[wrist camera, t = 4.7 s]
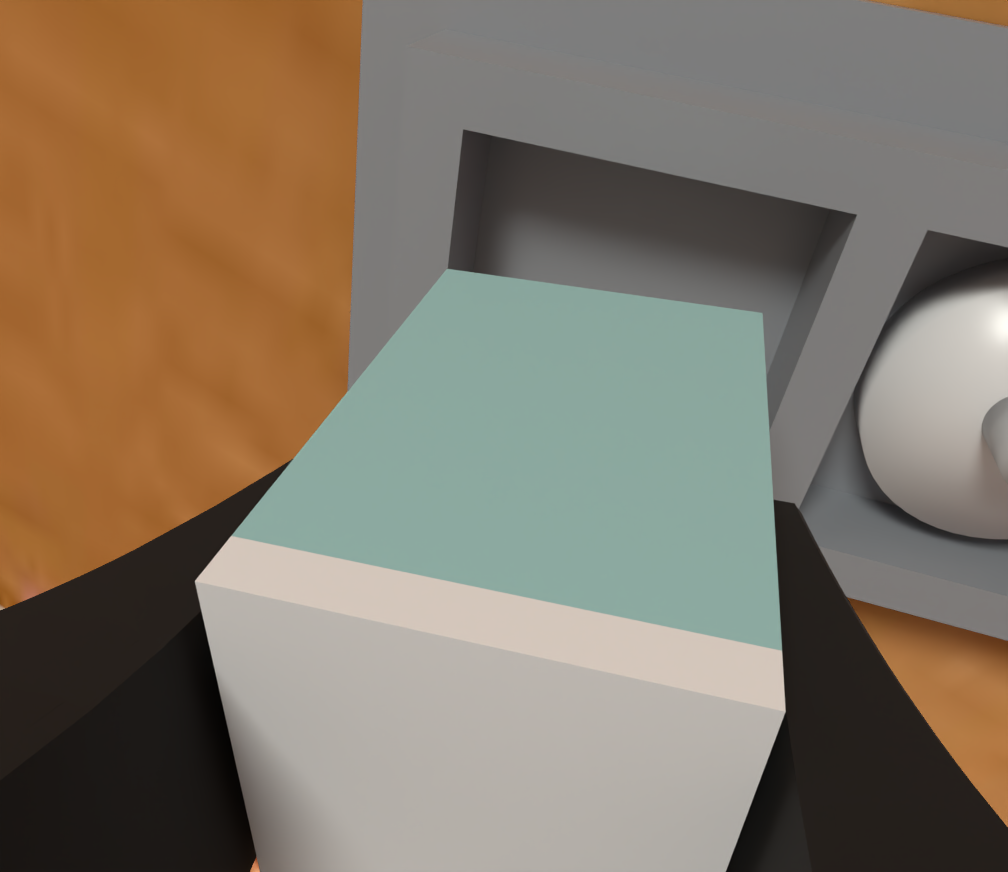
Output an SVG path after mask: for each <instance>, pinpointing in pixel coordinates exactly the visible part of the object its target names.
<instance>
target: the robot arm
mask: <svg viewBox="0 0 1008 872" xmlns="http://www.w3.org/2000/svg"><path fill="white" fill-rule="evenodd" d="M292 460H293V459H292ZM292 460H290V461H289V462H287V463H286V464H284V465H282V466H281V467H279V468H278V469H276V470H274V471H273V472H271V473H269V474H268V475H266V476H264V477H263V478H261V479H259V480H258V481H256V482H254V483H253V484H251V485H249V486H248V487H246V488H244V489H243V490H241V491H239V492H238V493H236V494H234V495H233V496H231V497H229V498H228V499H226V500H224V501H223V502H221V503H219V504H218V505H216V506H214V507H212V508H211V509H209V510H207V511H205V512H203V513H201V514H200V515H198V516H196V517H194V518H192V519H190V520H189V521H187V522H185V523H183V524H181V525H179V526H178V527H176V528H174V529H172V530H170V531H168V532H167V533H165V534H163V535H161V536H159V537H157V538H155V539H154V540H152V541H150V542H148V543H146V544H144V545H143V546H141V547H139V548H137V549H135V550H133V551H131V552H129V553H127V554H125V555H123V556H121V557H119V558H117V559H115V560H113V561H111V562H109V563H107V564H105V565H103V566H101V567H99V568H97V569H95V570H92V571H90V572H88V573H86V574H84V575H82V576H80V577H77V578H75V579H73V580H71V581H68V582H66V583H64V584H62V585H59V586H57V587H55V588H53V589H50V590H48V591H46V592H44V593H41V594H39V595H37V596H35V597H32V598H30V599H27V600H25V601H23V602H20V603H18V604H16V605H13V606H11V607H8V608H6V609H3V610H0V872H250V870H251V868H252V865H253V863H254V861H255V858H256V851H255V847H254V842H253V838H252V833H251V829H250V824H249V820H248V816H247V811H246V807H245V802H244V798H243V793H242V789H241V784H240V780H239V776H238V771H237V767H236V762H235V758H234V753H233V749H232V744H231V740H230V735H229V731H228V727H227V722H226V718H225V713H224V709H223V704H222V700H221V695H220V691H219V687H218V682H217V678H216V673H215V669H214V664H213V660H212V655H211V651H210V647H209V642H208V638H207V633H206V629H205V624H204V620H203V615H202V611H201V607H200V602H199V598H198V593H197V589H196V584H195V580H196V579H197V578H198V577H199V575H200V574H201V573H202V572H203V570H204V569H205V568H206V567H207V565H208V564H209V563H210V562H211V561H212V559H213V558H214V557H215V556H216V554H217V553H218V552H219V551H220V549H221V548H222V547H223V546H224V544H225V543H226V542H227V541H228V539H229V538H230V537H231V536H232V534H233V533H234V532H235V531H236V530H237V528H238V527H239V526H240V525H241V523H242V522H243V521H244V520H245V518H246V517H247V516H248V515H249V513H250V512H251V511H252V510H253V508H254V507H255V506H256V505H257V504H258V502H259V501H260V500H261V499H262V497H263V496H264V495H265V494H266V492H267V491H268V490H269V489H270V487H271V486H272V485H273V484H274V482H275V481H276V480H277V479H278V477H279V476H280V475H281V474H282V473H283V471H284V470H285V469H286V468H287V466H288V465H289V464H290V463H291V461H292ZM773 503H774V520H775V537H776V554H777V572H778V589H779V606H780V623H781V641H782V658H783V675H784V692H785V710H786V712H785V715H784V717H783V720H782V723H781V725H780V728H779V731H778V733H777V736H776V739H775V741H774V744H773V747H772V749H771V752H770V755H769V757H768V760H767V763H766V765H765V768H764V771H763V773H762V776H761V779H760V781H759V784H758V787H757V789H756V792H755V795H754V798H753V800H752V803H751V806H750V808H749V811H748V814H747V816H746V819H745V822H744V824H743V827H742V830H741V832H740V835H739V838H738V840H737V843H736V846H735V848H734V851H733V854H732V856H731V859H730V862H729V864H728V867H727V870H726V872H1008V827H1007V826H1006V825H1005V824H1004V822H1003V821H1002V820H1001V819H1000V817H999V816H998V815H997V814H996V812H995V811H994V810H993V809H992V808H991V806H990V805H989V804H988V803H987V801H986V800H985V799H984V798H983V796H982V795H981V794H980V793H979V791H978V790H977V789H976V788H975V787H974V785H973V784H972V783H971V781H970V780H969V779H968V778H967V776H966V775H965V774H964V772H963V771H962V770H961V768H960V767H959V766H958V764H957V763H956V762H955V760H954V759H953V758H952V756H951V755H950V754H949V752H948V751H947V750H946V748H945V747H944V745H943V744H942V743H941V741H940V740H939V739H938V737H937V736H936V735H935V733H934V732H933V730H932V729H931V727H930V726H929V725H928V723H927V722H926V720H925V719H924V717H923V716H922V715H921V713H920V712H919V710H918V709H917V707H916V706H915V705H914V703H913V702H912V700H911V699H910V697H909V696H908V694H907V693H906V692H905V690H904V689H903V687H902V686H901V684H900V682H899V681H898V679H897V678H896V676H895V675H894V673H893V672H892V670H891V669H890V667H889V666H888V664H887V663H886V661H885V660H884V658H883V656H882V655H881V653H880V651H879V650H878V648H877V647H876V645H875V643H874V642H873V640H872V639H871V637H870V635H869V634H868V632H867V630H866V629H865V627H864V626H863V624H862V622H861V621H860V619H859V617H858V616H857V614H856V613H855V611H854V609H853V607H852V606H851V604H850V602H849V601H848V599H847V597H846V595H845V594H844V592H843V590H842V588H841V587H840V585H839V583H838V581H837V579H836V578H835V576H834V574H833V572H832V570H831V569H830V567H829V565H828V563H827V561H826V559H825V558H824V556H823V554H822V552H821V550H820V548H819V546H818V544H817V542H816V540H815V539H814V537H813V535H812V533H811V531H810V529H809V527H808V525H807V523H806V521H805V519H804V517H803V515H802V513H801V512H800V510H799V509H798V508H797V506H796V505H795V503H790V502H785V501H779V500H773Z"/></svg>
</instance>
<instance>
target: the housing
mask: <svg viewBox="0 0 1008 872" xmlns="http://www.w3.org/2000/svg"><path fill="white" fill-rule="evenodd" d="M446 269H452V270H460V271H467V272H474V273H481V274H488V275H495V276H502V277H509V278H517V279H524V280H531V281H538V282H545V283H552V284H559V285H567V286H574V287H581V288H588V289H595V290H602V291H609V292H617V293H624V294H631V295H638V296H645V297H652V298H659V299H667V300H674V301H681V302H688V303H695V304H702V305H709V306H717V307H724V308H731V309H738V310H745V311H752V312H759V313H763V330H764V347H765V365H766V382H767V399H768V416H769V434H770V451H771V468H772V485H773V500H779V501H785V502H790V503H795V505H796V506H797V508H798V509H799V510H800V512H801V513H802V515H803V517H804V519H805V521H806V523H807V525H808V527H809V529H810V531H811V533H812V535H813V537H814V539H815V540H816V542H817V544H818V546H819V548H820V550H821V552H822V554H823V556H824V558H825V559H826V561H827V563H828V565H829V567H830V569H831V570H832V572H833V574H834V576H835V578H836V579H837V581H838V583H839V585H840V587H841V588H842V590H843V592H844V594H845V595H846V597H849V598H852V599H856V600H860V601H863V602H867V603H871V604H874V605H878V606H882V607H885V608H889V609H893V610H896V611H900V612H904V613H907V614H911V615H915V616H919V617H922V618H926V619H930V620H933V621H937V622H941V623H944V624H948V625H952V626H955V627H959V628H963V629H966V630H970V631H974V632H977V633H981V634H985V635H988V636H992V637H996V638H1000V639H1003V640H1007V641H1008V26H1003V25H997V24H992V23H987V22H981V21H976V20H970V19H965V18H960V17H954V16H949V15H944V14H938V13H933V12H928V11H922V10H917V9H911V8H906V7H901V6H895V5H890V4H885V3H879V2H874V1H868V0H363V9H362V35H361V61H360V87H359V112H358V138H357V164H356V190H355V215H354V241H353V267H352V293H351V318H350V344H349V370H348V391H349V390H350V388H351V387H352V386H353V385H354V383H355V382H356V381H357V380H358V378H359V377H360V376H361V375H362V373H363V372H364V371H365V370H366V368H367V367H368V366H369V365H370V363H371V362H372V361H373V360H374V359H375V357H376V356H377V355H378V354H379V352H380V351H381V350H382V349H383V347H384V346H385V345H386V344H387V342H388V341H389V340H390V339H391V337H392V336H393V335H394V334H395V332H396V331H397V330H398V329H399V328H400V326H401V325H402V324H403V323H404V321H405V320H406V319H407V318H408V316H409V315H410V314H411V313H412V311H413V310H414V309H415V308H416V306H417V305H418V304H419V303H420V302H421V300H422V299H423V298H424V297H425V295H426V294H427V293H428V292H429V290H430V289H431V288H432V287H433V285H434V284H435V283H436V282H437V280H438V279H439V278H440V277H441V275H442V274H443V273H444V272H445V271H446Z"/></svg>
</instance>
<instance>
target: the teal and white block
mask: <svg viewBox="0 0 1008 872" xmlns="http://www.w3.org/2000/svg"><path fill="white" fill-rule="evenodd" d="M195 584H196V589H197V593H198V598H199V602H200V607H201V611H202V615H203V620H204V624H205V629H206V633H207V638H208V642H209V647H210V651H211V655H212V660H213V664H214V669H215V673H216V678H217V682H218V687H219V691H220V695H221V700H222V704H223V709H224V713H225V718H226V722H227V727H228V731H229V735H230V740H231V744H232V749H233V753H234V758H235V762H236V767H237V771H238V776H239V780H240V784H241V789H242V793H243V798H244V802H245V807H246V811H247V816H248V820H249V824H250V829H251V833H252V838H253V842H254V847H255V851H256V856H257V860H258V864H259V869H260V872H726V870H727V867H728V864H729V862H730V859H731V856H732V854H733V851H734V848H735V846H736V843H737V840H738V838H739V835H740V832H741V830H742V827H743V824H744V822H745V819H746V816H747V814H748V811H749V808H750V806H751V803H752V800H753V798H754V795H755V792H756V789H757V787H758V784H759V781H760V779H761V776H762V773H763V771H764V768H765V765H766V763H767V760H768V757H769V755H770V752H771V749H772V747H773V744H774V741H775V739H776V736H777V733H778V731H779V728H780V725H781V723H782V720H783V717H784V715H785V712H786V710H785V692H784V675H783V658H782V641H781V623H780V606H779V589H778V572H777V554H776V537H775V520H774V503H773V485H772V468H771V451H770V434H769V416H768V399H767V382H766V365H765V347H764V330H763V313H759V312H752V311H745V310H738V309H731V308H724V307H717V306H709V305H702V304H695V303H688V302H681V301H674V300H667V299H659V298H652V297H645V296H638V295H631V294H624V293H617V292H609V291H602V290H595V289H588V288H581V287H574V286H567V285H559V284H552V283H545V282H538V281H531V280H524V279H517V278H509V277H502V276H495V275H488V274H481V273H474V272H467V271H460V270H452V269H446V271H445V272H444V273H443V274H442V275H441V277H440V278H439V279H438V280H437V282H436V283H435V284H434V285H433V287H432V288H431V289H430V290H429V292H428V293H427V294H426V295H425V297H424V298H423V299H422V300H421V302H420V303H419V304H418V305H417V306H416V308H415V309H414V310H413V311H412V313H411V314H410V315H409V316H408V318H407V319H406V320H405V321H404V323H403V324H402V325H401V326H400V328H399V329H398V330H397V331H396V332H395V334H394V335H393V336H392V337H391V339H390V340H389V341H388V342H387V344H386V345H385V346H384V347H383V349H382V350H381V351H380V352H379V354H378V355H377V356H376V357H375V359H374V360H373V361H372V362H371V363H370V365H369V366H368V367H367V368H366V370H365V371H364V372H363V373H362V375H361V376H360V377H359V378H358V380H357V381H356V382H355V383H354V385H353V386H352V387H351V388H350V390H349V391H348V392H347V393H346V394H345V396H344V397H343V398H342V399H341V401H340V402H339V403H338V404H337V406H336V407H335V408H334V409H333V411H332V412H331V413H330V414H329V416H328V417H327V418H326V419H325V420H324V422H323V423H322V424H321V425H320V427H319V428H318V429H317V430H316V432H315V433H314V434H313V435H312V437H311V438H310V439H309V440H308V442H307V443H306V444H305V445H304V447H303V448H302V449H301V450H300V451H299V453H298V454H297V455H296V456H295V458H294V459H293V460H292V461H291V463H290V464H289V465H288V466H287V468H286V469H285V470H284V471H283V473H282V474H281V475H280V476H279V477H278V479H277V480H276V481H275V482H274V484H273V485H272V486H271V487H270V489H269V490H268V491H267V492H266V494H265V495H264V496H263V497H262V499H261V500H260V501H259V502H258V504H257V505H256V506H255V507H254V508H253V510H252V511H251V512H250V513H249V515H248V516H247V517H246V518H245V520H244V521H243V522H242V523H241V525H240V526H239V527H238V528H237V530H236V531H235V532H234V533H233V534H232V536H231V537H230V538H229V539H228V541H227V542H226V543H225V544H224V546H223V547H222V548H221V549H220V551H219V552H218V553H217V554H216V556H215V557H214V558H213V559H212V561H211V562H210V563H209V564H208V565H207V567H206V568H205V569H204V570H203V572H202V573H201V574H200V575H199V577H198V578H197V579H196V580H195Z"/></svg>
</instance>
